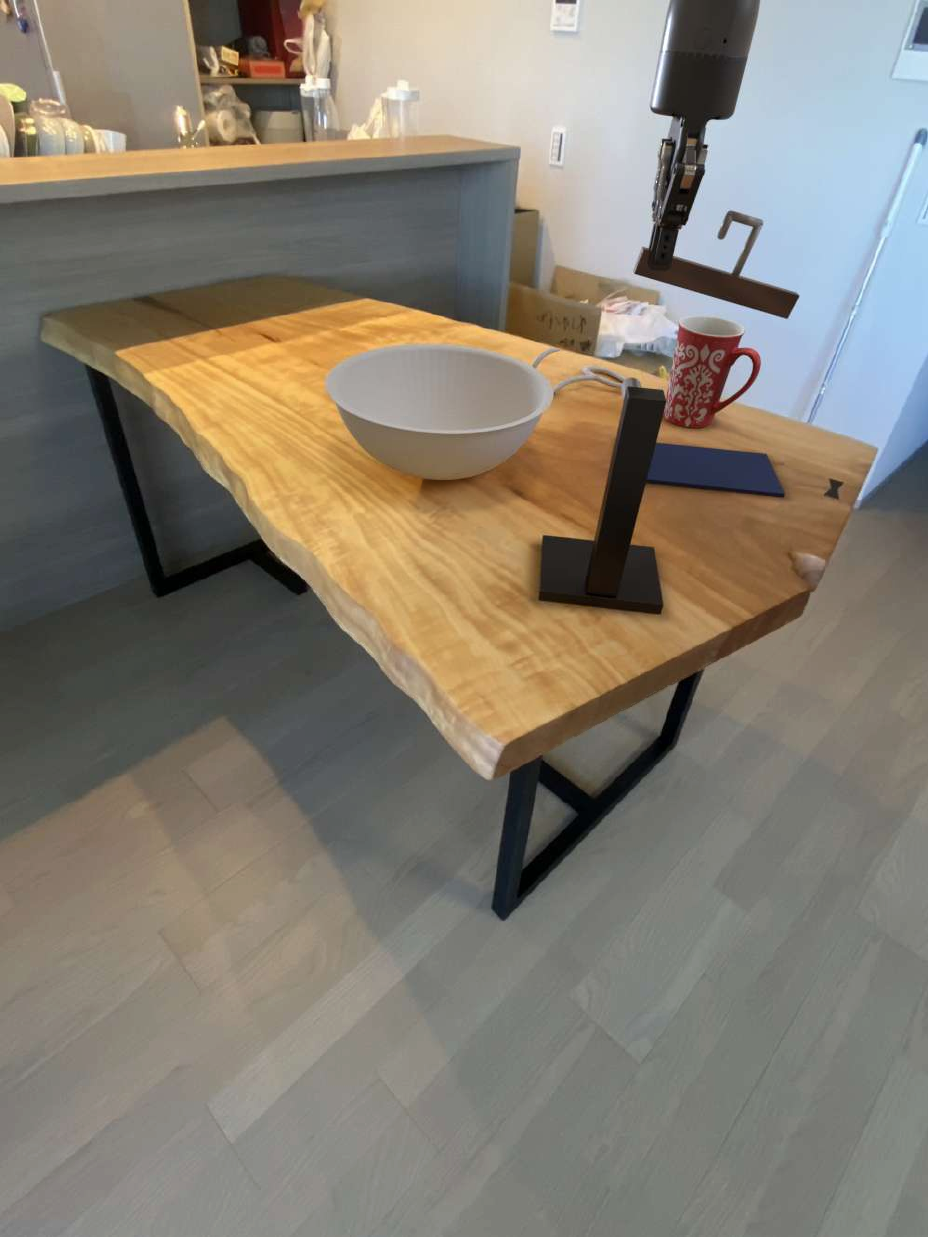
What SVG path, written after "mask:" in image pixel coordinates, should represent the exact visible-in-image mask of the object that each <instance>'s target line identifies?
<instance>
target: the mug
mask: <svg viewBox="0 0 928 1237" xmlns="http://www.w3.org/2000/svg"><path fill="white" fill-rule="evenodd" d="M677 324H678V330H677V336H676V342H675V347H674V351H673V358H672V363H671V370H670V373H669V378H668V383H667V389H666V395H665V398H666V406H665V410H664V414H663V417H664V419H665V420H666V421H668V422H670V423H671V424H673V425H677V426H679V427H684V428H692V429H693V428H694V429H699V428H700V429H701V428H706V427H708V426H710V425H711V424H712V423H713V421H714V419H715V415H716V414H717V413H719V412H720V411H723V409H726V408H727V407H728V406H730V405H731V404H733V403H734V402H735V401H736V400H738V399H739V398H740V397H742V396H743V395H744V394H745V393H747V391H748V390H749V389H750V388H751V387H752V386H753V384H754V383H755V381H756V380H757V379H758V378H757V377H758V376H759V373H760V370H761V366H762V361H761V360H762V359H761V356H760V354H759V352H758V351H757V350H755V349H754V348H751V347H739V346H740V343H741V340H742V337H743V336H744V334H745V333H746V328H745V327H744V326H743V325H742V324H740V323H738V322H736V321H734V320H731V319H727V318H724V317H719V316H712V315H711V316H710V315H688V316H683V317H681V318H680V319H679V320H678V323H677ZM742 356H746V357H748V358H750V360H751V363H752V369H751V374H750V375H749V377H748V380H747V381H746V383H745V384H744V385H743V386H742V387H741V388H740V389H739V390H737V391H736V392H734V393H733V395H731V396H730V397H728V398H727V399H725V400H723V401H720V400H721V397H722V394H723V391H724V389H725V386H726V383H727V381H728V377H729V375H730V371H731V368H732V366H734V365H735V364H736V362H737V361H738V359H739V358H740V357H742Z"/></svg>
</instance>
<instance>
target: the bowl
mask: <svg viewBox="0 0 928 1237" xmlns="http://www.w3.org/2000/svg"><path fill="white" fill-rule="evenodd" d="M324 386H325V390H326V392H327V396H328V397H330V398H329V399H331V400H332V401H333V403H334V404H335V406H336V409H337V411H338V413H339V415H340V418H341V420H342V422H343V424H344V425H345V427H346V429H347V431H348V432H349V433H350V435H351V436H352V438H353V439H354V440H355V441H356V442H357V444H358V445H359V446H360V447H361V448H362V449H363V450H364V451H365V452H366V453H367V454H368V455H369V456H371V457H372V458H373V459H374V460H375V461H377V462H379V463H380V464H382V465H383V466H385V467H387V468H389V469H391V470H393V471H395V472H398V473H400V474H403V475H406V476H409V477H413V478H418V479H424V480H433V481H434V480H435V481H452V480H460V479H467V478H471V477H474V476H478V475H481V474H483V473H487V472H489V471H491V470H493V469H495V468H497V467H499V466H501V465H502V464H503V463H504V462H506V461H508V460H509V459H510V458H511V457H512V456H513V455H514V454H515V453H517V452H518V451H519V450H520V449H521V448H522V447H523V446H524V445H525V443H526V442H527V441H528V439H529V438H530V437H531V435H532V434H533V432H534V430H535V429H536V428H537V426H538V423H539V422H540V420H541V419H542V416H543V413H545V411H547V409H548V408H549V407H550V406H551V405H552V402H553V399H554V394H555V393H554V391H553V388H554V387H553V385H552V382H550V380H549V379H548V378H547V377H546V376H545V374H543V373H542V372H541V371H540V370H538V369H537V368H536V369H535V368H533V367H532V365H530V364H528V363H526V362H524V361H522V360H520V359H517V358H516V357H513V356H510V355H506V354H503V353H500V352H496V351H492V350H488V349H484V348H479V347H473V346H466V345H459V344H446V343H407V344H396V345H389V346H382V347H377V348H372V349H369V350H365V351H362V352H359V353H356V354H354V355H351V356H349V357H347V358H345V359H343V360H342V361H340V362H338V363H337V364H336V365H334V366H333V367H332V368H331V369H330V370H329V372H328V373H327V375H326V377H325V382H324Z"/></svg>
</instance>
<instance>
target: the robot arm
mask: <svg viewBox="0 0 928 1237" xmlns="http://www.w3.org/2000/svg"><path fill="white" fill-rule="evenodd" d="M760 5H761V0H669V3H668V7H667V12H666V16H665V20H664V27H663V32H662V39H661V42H660V49H659V53H658V59H657V64H656V70H655V74H654V81H653V86H652V92H651V95H650V96H651V97H650V102H649V109H650V111H651V112H652V113H653V114H654V115H655V114H656V115H659V116H665V117H672V119H671V120H670V121H671V122H670V126H669V129H668V133H667V138H665V137H661V138H660V142H659V147H658V151H657V159H658V160H657V167H656V169H657V170H656V175H655V178H654V184H653V199H652V202H651V211H652V214H651V218H652V223H653V224H652V230H651V235H650V240H649V244H648V248H649V249H651V252H650V257H649V262H648V265H649V268H650V269H652V270H661V271H667V270H669V269H670V267H671V263H672V259H673V256H674V253H675V250H676V245H677V241H678V236H679V232H680V230H682V228H683V226H686V225H687V222H689V218H690V215H691V211H692V209H693V206H694V203H695V201H696V197H697V194H698V192H699V189H700V186H701V183H702V180H703V178H704V176H705V174H706V165H705V164H706V161H707V156H708V151H709V144H705V137H706V131H707V125H708V122H710V121H711V120H713V121H714V120H715V121H725V120H729V119H730V118H732V117H733V116H734V113H735V111H736V108H737V102H738V99H739V96H740V95H739V94H740V91H741V87H742V82H743V79H744V75H745V71H746V66H747V62H748V58H749V55H750V51H751V47H752V42H753V38H754V34H755V31H756V26H757V22H758V18H759V14H760V13H759V11H760Z"/></svg>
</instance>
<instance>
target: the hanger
mask: <svg viewBox="0 0 928 1237" xmlns="http://www.w3.org/2000/svg"><path fill="white" fill-rule="evenodd" d="M733 222H734V223H737V224H741V225H744V226H748V227H750V228H751V230H750V233H749V234H748V237H747V239H746V241H745V243H744V246H743V247H742V250H741V251H740V254H739V256H738V258H737V261H736V263H735V265H734V267H733V270H732V272H729V271H726V270H722V269H719V268H715V267H712V266H709V265H706V264H702V263H699V262H695V261H692V260H690V259H685V258H682V257H679V256H676V255H673V259H672V263H671V267H670V269H669V270H667V271H661V270H652V269H650V268H649V265H648V262H649V257H650V252H651V249H649V247H646V246H641V249H640V252H639V254H638V257H637V260H636V263H635V265H634V267H633V270H632V272H633V274H634V275H636V276H640V277H643V278H646V279H649V280H652V281H653V280H654V281H657V282H660V283H663V284H666V285H670V286H673V287H676V288H681V289H683V290H687V291H690V292H694V293H698V294H701V295H705V296H708V297H710V298H715V299H718V300H721V301H725V302H727V303H731V304H734V305H738V306H741V307H745V308H748V309H752V310H755V311H759V312H762V313H764V314H765V313H766V314H769V315H772V316H775V317H779V318H782V319H786V320H788V319H789V317H790V315H791V314H792V312H793V310H794V308H795V306H796V304H797V302H798V300H799V299H800V296H801V295H800V294H799V293H798V292H796V291H793V290H789V289H787V288H783V287H779V286H775V285H772V284H769V283H766V282H762V281H759V280H756V279H753V278H750V277H746V276H743V275H741V273H742V271H743V269H744V266H745V264H746V263H747V260H748V258H749V256H750V254H751V251H752V250H753V248H754V245H755V243H756V241H757V239H758V237H759V234H760V232H761V231H762V228H763V226H764V220H763V219H761V218H758V217H755V216H751V215H748V214H745V213H742V212H739V211H735V210H730V209H729V210H728V211H726V214H725V216H724V219H723V220H722V223H721V224H720V226H719V230H718V232H717V235H716V237H717V239H718V240H720V241H721V240H724V239H725V238H726V236H727V234H728V232H729V229H730V227H731V225H732V223H733Z"/></svg>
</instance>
